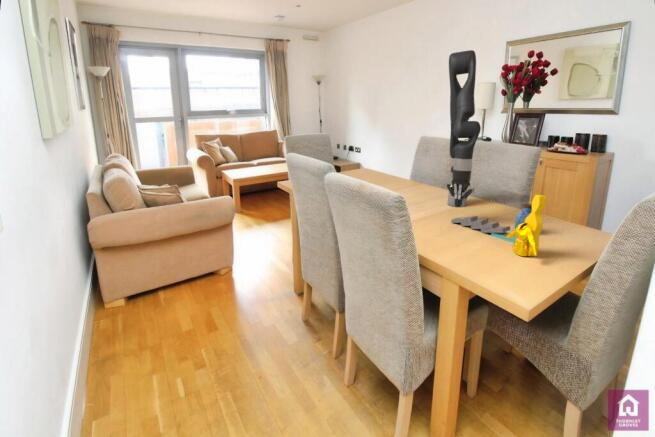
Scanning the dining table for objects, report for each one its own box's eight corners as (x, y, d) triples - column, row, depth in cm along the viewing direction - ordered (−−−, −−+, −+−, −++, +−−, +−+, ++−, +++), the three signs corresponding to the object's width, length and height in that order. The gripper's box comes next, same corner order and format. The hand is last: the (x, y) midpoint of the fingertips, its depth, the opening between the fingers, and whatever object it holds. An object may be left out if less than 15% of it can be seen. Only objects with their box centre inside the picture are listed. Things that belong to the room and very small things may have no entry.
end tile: (498, 229, 151) (522, 236, 143) (497, 233, 152) (521, 240, 144) (491, 232, 148) (515, 239, 140) (491, 236, 149) (514, 243, 141)
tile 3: (477, 223, 158) (498, 221, 150) (478, 226, 159) (499, 225, 150) (470, 225, 156) (491, 224, 147) (471, 229, 156) (492, 228, 147)
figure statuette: (500, 244, 140) (509, 189, 133) (519, 243, 141) (529, 188, 133) (529, 265, 123) (541, 203, 116) (550, 263, 124) (563, 202, 117)
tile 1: (458, 217, 166) (477, 215, 158) (458, 221, 166) (478, 219, 158) (451, 219, 163) (470, 217, 155) (451, 223, 164) (471, 221, 155)
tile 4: (488, 226, 154) (509, 225, 146) (488, 230, 154) (510, 230, 146) (480, 228, 152) (502, 228, 143) (481, 232, 152) (502, 232, 143)
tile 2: (467, 220, 162) (487, 218, 154) (468, 223, 162) (488, 222, 154) (460, 222, 160) (480, 221, 151) (461, 226, 160) (481, 224, 151)
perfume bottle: (530, 230, 154) (535, 203, 150) (532, 235, 149) (538, 207, 145) (514, 228, 156) (518, 202, 152) (516, 233, 151) (521, 206, 147)
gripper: (444, 167, 159) (440, 204, 165) (471, 171, 149) (466, 211, 155) (454, 165, 164) (450, 201, 169) (481, 169, 153) (476, 208, 159)
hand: (457, 206), depth 162 cm, fingers closed
